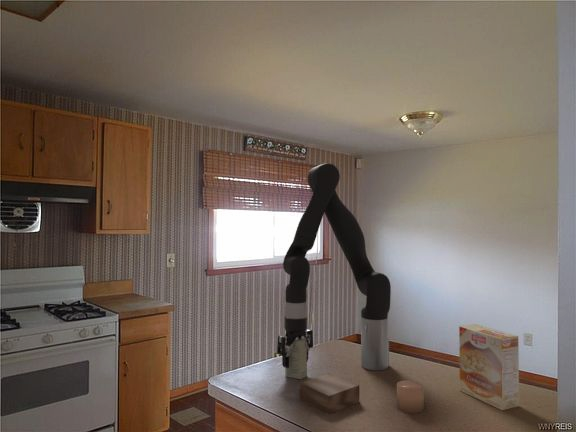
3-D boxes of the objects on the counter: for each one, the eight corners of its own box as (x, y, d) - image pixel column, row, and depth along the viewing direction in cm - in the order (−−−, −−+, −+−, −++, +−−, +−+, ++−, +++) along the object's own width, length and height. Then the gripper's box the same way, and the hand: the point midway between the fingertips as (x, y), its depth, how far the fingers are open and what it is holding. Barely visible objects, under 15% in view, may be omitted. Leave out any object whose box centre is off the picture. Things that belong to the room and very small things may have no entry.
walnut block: (329, 389, 126) (329, 373, 126) (359, 402, 116) (359, 385, 117) (299, 400, 118) (299, 382, 118) (329, 415, 109) (329, 396, 109)
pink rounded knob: (405, 399, 118) (405, 378, 118) (428, 407, 113) (428, 385, 113) (392, 407, 113) (391, 385, 113) (415, 415, 108) (414, 392, 108)
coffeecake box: (458, 390, 125) (458, 325, 125) (476, 387, 127) (475, 323, 128) (501, 411, 111) (501, 338, 111) (520, 406, 114) (519, 335, 114)
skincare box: (307, 376, 136) (307, 338, 136) (300, 380, 133) (300, 341, 133) (291, 372, 140) (291, 335, 140) (284, 376, 136) (284, 338, 136)
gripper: (303, 310, 144) (302, 357, 144) (272, 316, 134) (271, 366, 134) (318, 314, 139) (318, 362, 138) (287, 320, 129) (287, 372, 129)
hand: (295, 364), depth 136 cm, fingers open, 8 cm apart
